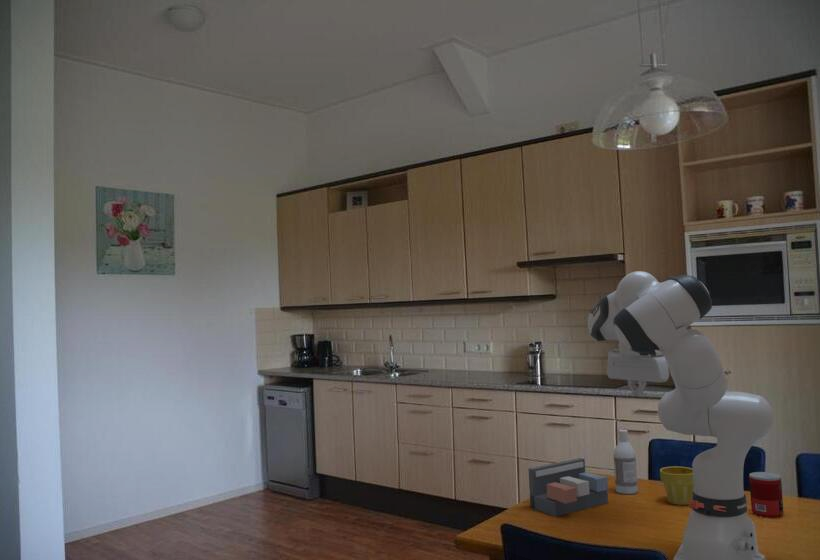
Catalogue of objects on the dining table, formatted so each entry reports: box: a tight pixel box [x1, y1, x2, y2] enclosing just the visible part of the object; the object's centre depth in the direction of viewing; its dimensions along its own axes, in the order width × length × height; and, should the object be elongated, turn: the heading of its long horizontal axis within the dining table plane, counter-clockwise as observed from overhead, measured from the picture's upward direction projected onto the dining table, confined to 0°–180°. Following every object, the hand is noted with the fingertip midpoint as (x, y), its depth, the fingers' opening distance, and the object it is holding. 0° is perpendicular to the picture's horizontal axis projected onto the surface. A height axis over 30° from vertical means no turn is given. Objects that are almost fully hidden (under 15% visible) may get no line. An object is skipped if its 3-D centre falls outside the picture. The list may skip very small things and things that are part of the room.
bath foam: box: [613, 429, 639, 495], centre depth 215 cm, size 7×7×20 cm
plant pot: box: [659, 465, 694, 506], centre depth 201 cm, size 10×10×10 cm
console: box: [528, 457, 609, 518], centre depth 203 cm, size 11×22×12 cm, turn 121°
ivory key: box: [560, 476, 590, 497], centre depth 201 cm, size 8×5×4 cm, turn 31°
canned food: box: [748, 471, 784, 519], centre depth 187 cm, size 8×8×11 cm
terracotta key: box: [547, 482, 577, 504], centre depth 195 cm, size 8×5×4 cm, turn 31°
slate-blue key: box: [578, 471, 609, 492], centre depth 205 cm, size 8×5×4 cm, turn 31°
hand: (637, 395), depth 194 cm, fingers closed
